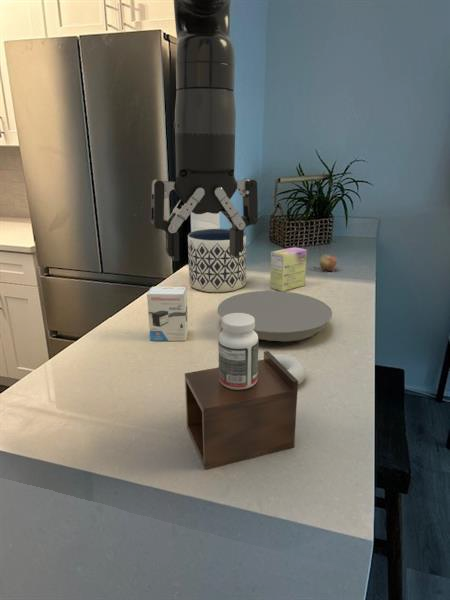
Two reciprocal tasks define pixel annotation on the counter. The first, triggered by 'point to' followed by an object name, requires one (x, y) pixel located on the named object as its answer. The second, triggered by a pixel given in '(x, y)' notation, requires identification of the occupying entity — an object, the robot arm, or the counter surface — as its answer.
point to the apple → (328, 262)
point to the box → (288, 268)
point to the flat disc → (280, 314)
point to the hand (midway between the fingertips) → (205, 257)
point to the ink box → (167, 313)
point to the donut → (292, 366)
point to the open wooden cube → (241, 414)
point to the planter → (215, 261)
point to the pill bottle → (238, 351)
